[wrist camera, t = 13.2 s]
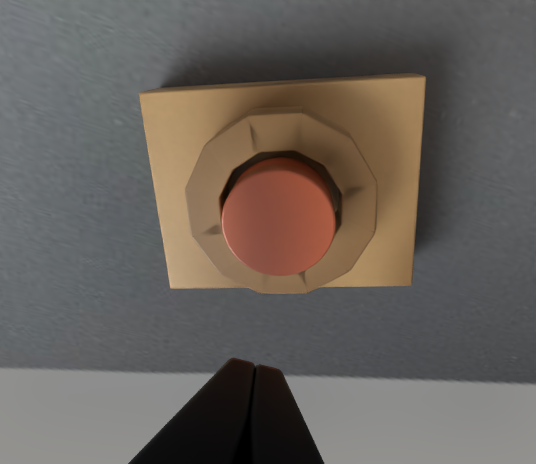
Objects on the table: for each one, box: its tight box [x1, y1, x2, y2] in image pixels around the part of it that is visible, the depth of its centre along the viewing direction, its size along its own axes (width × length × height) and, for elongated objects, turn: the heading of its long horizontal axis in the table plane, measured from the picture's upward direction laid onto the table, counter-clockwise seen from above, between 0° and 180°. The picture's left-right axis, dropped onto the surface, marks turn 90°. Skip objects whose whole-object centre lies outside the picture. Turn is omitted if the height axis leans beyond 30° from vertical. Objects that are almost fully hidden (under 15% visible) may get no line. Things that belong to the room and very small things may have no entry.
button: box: [221, 157, 336, 276], centre depth 15 cm, size 4×4×2 cm
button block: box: [139, 73, 426, 294], centre depth 17 cm, size 10×8×4 cm
